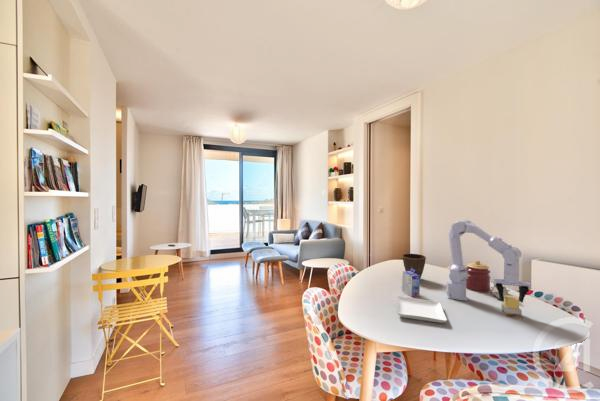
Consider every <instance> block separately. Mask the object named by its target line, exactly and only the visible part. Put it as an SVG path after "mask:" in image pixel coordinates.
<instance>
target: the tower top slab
mask: <svg viewBox="0 0 600 401" xmlns="http://www.w3.org/2000/svg"><path fill="white" fill-rule="evenodd" d="M502 309H503V310H504V311H505V312H506V313H511V314H519V315H523V314H522V309H521V308H520V307H519V309H514V308H507V307H506V306H505V305H504V302H503V303H501V310H502Z"/></svg>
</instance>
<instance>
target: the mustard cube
mask: <svg viewBox="0 0 600 401" xmlns="http://www.w3.org/2000/svg"><path fill="white" fill-rule="evenodd" d="M503 304H504V305H505V306H506V307H507V308H514V309H519V308H520V301H519V297H516V296H514V295H509V294H508V295H504V298H503Z"/></svg>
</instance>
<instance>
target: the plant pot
mask: <svg viewBox="0 0 600 401" xmlns="http://www.w3.org/2000/svg"><path fill="white" fill-rule="evenodd" d="M401 257H402V262H403V267H404V270H405V271H410V270H411V268H412V269H414V270H415V272H414V271H413V270H411V271H412V272H414V273H415V274H417V275H420V279H421V278H422V275H423V273H424V269H425V265H426V260H427V256H425V255H423V254H418V253H404V254H402V255H401Z"/></svg>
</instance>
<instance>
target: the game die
mask: <svg viewBox="0 0 600 401" xmlns="http://www.w3.org/2000/svg"><path fill="white" fill-rule="evenodd" d="M503 287H504V289H503V299H504V295H508V296H509V292H510V289H509V290H508V289H507V288H506V287H507V285H504V286H503ZM490 289H491V291H489V292H490V294H493V297H496V298H498V300H499V301H500V300H501V299H500V295H499V292H498V289H497V287H496V285H495V284H493V286H490Z"/></svg>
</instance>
